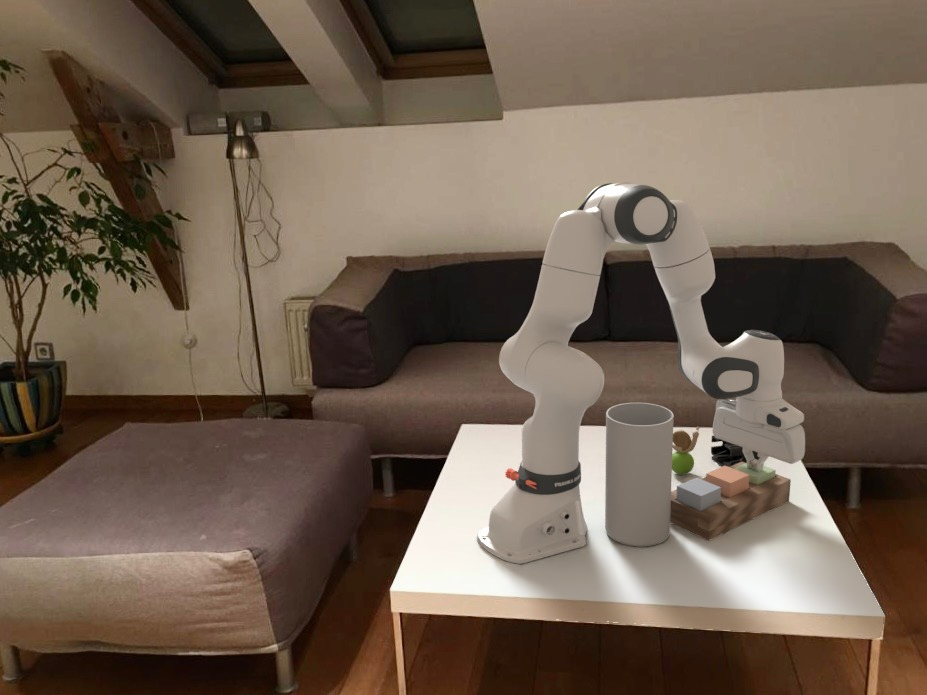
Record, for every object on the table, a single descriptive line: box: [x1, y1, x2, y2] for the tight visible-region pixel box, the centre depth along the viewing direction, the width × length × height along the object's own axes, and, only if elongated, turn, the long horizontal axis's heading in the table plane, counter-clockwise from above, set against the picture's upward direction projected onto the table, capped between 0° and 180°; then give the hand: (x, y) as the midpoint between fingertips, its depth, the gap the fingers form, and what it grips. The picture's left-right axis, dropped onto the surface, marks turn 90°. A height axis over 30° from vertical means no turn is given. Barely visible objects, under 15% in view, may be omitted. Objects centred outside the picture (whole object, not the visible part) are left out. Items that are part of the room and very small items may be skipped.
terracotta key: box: [705, 466, 749, 498], centre depth 170 cm, size 6×6×4 cm
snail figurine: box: [672, 426, 700, 476], centre depth 187 cm, size 5×6×12 cm
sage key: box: [734, 463, 777, 485], centre depth 176 cm, size 6×6×4 cm
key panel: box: [670, 462, 792, 542], centre depth 171 cm, size 26×12×5 cm, turn 125°
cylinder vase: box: [604, 402, 675, 548], centre depth 161 cm, size 12×12×25 cm
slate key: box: [676, 477, 721, 511], centre depth 165 cm, size 6×6×4 cm
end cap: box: [710, 435, 760, 467], centre depth 192 cm, size 10×7×7 cm
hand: (754, 468), depth 175 cm, fingers closed, pressing on sage key
